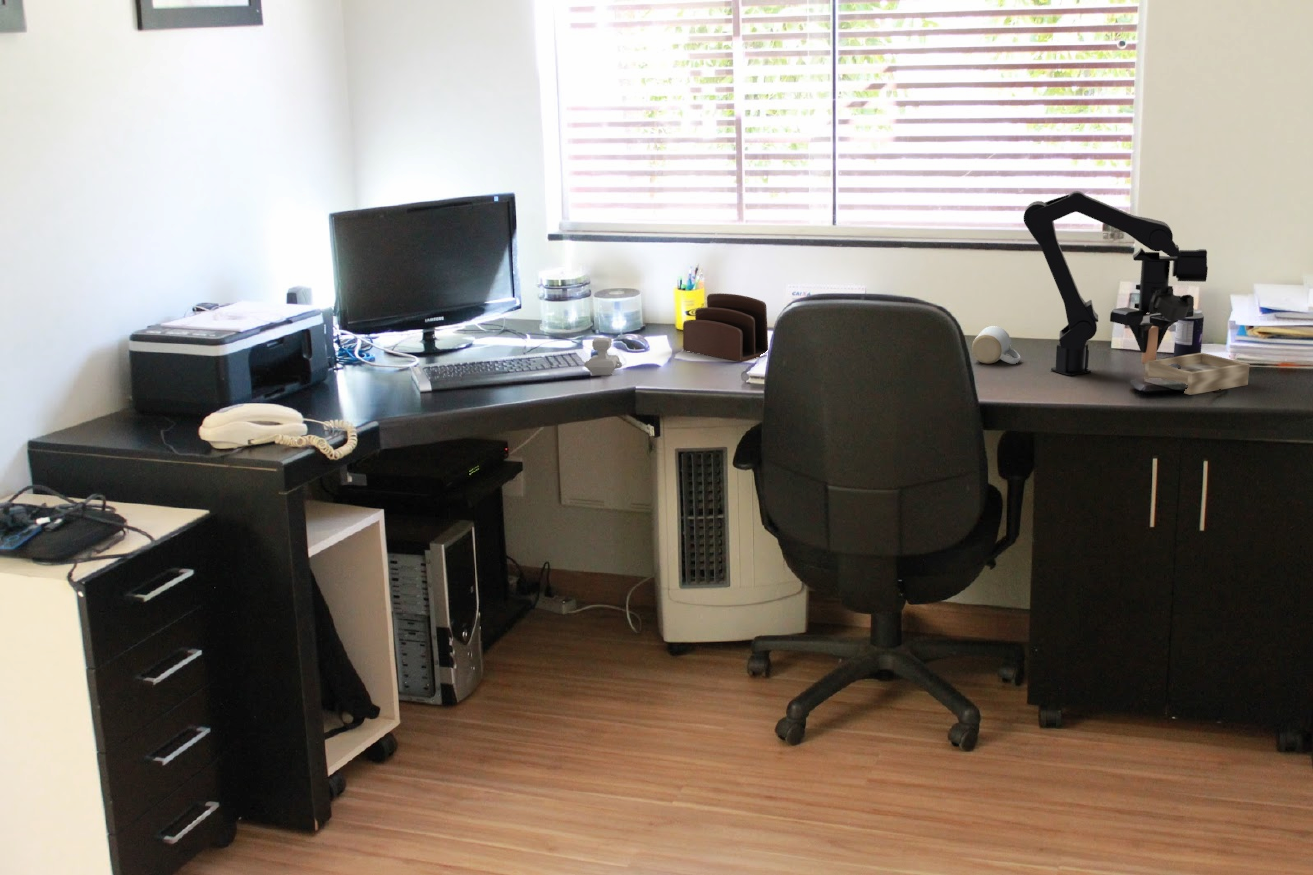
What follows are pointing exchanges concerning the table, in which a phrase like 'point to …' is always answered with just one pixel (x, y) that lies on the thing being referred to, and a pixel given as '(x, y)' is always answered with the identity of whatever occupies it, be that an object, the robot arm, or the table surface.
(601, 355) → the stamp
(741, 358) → the letter holder
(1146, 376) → the tray
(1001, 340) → the ceramic mug
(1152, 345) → the peg
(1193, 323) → the beverage can
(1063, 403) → the table surface
